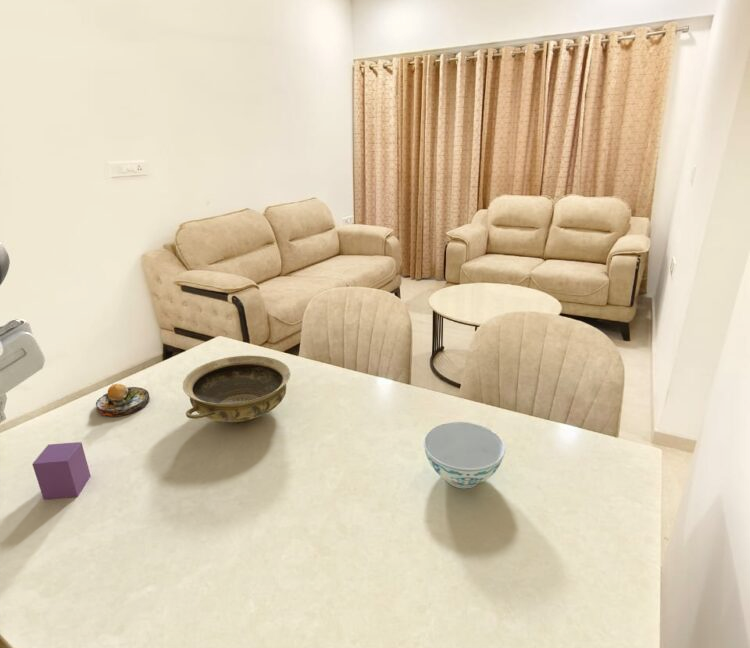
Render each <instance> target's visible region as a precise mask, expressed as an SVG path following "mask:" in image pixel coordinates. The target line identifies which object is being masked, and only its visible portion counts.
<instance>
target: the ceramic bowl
mask: <svg viewBox="0 0 750 648" xmlns="http://www.w3.org/2000/svg"><path fill="white" fill-rule="evenodd" d="M290 377H291V370H290V368H289V366H288V365H287V364H286V363H284V362H282V361H281V360H278V359H276V358H273V357H268V356H262V355H235V356H234V355H233V356H229V357H224V358H220V359H215V360H212V361H209V362H207V363H204V364H202V365H200V366H198V367H196V368H194V369H193V370H192V371H190V372H189V373H188V374H187V375H186V376H185V377H184V379H183V382H182V390H183V392H184V394H185V395H187V396H188V397H189V402H190V404H191V407H192V408H189V409H188V410H187V411H186V412H185V416H186V418H188V419H191V420H199V419H203V418H206V419H210V420H213V421H215V422H223V423H226V422H228V423H244V422H245V423H246V422H248V421H251V420H253V419H256V418H259V417H261V416H263V415H266V414H268V413H269V412H271V411H272V410H274V409H276V407H277V406H279V404H281V403H282V401H283V400H284V398H285V396H286V394H287V383H288V382H289V381H290ZM193 413H197V414H193Z"/></svg>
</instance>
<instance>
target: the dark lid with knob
mask: <svg viewBox="0 0 750 648" xmlns="http://www.w3.org/2000/svg"><path fill="white" fill-rule="evenodd" d="M149 402H150V393H149V391H148V390H147V389H146V388H143V387H138V386H130V387H129V386H128V387H127V385H126V384H123V383H114V384H113V383H111V386H110V387H108V389H107V392H106V393H104V394H103V395H102V396H101V397H99V398H98V399H97V400H96V401H95V409H96V412H97V413H99V414H100V415H101V416H104V417H106V416H107V417H120V416H124V415H125V416H126V415H129V414H131V413H134V412H135V413H136V412H137V411H139V410H141V409H144V407H145V406H146V405H148V404H149Z"/></svg>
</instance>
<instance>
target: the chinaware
mask: <svg viewBox="0 0 750 648" xmlns="http://www.w3.org/2000/svg"><path fill="white" fill-rule="evenodd" d="M423 447H424V453H425V454H426V455H425V456H426V458H427V460H428V463H429V464H430V466H431V468H432V469H433V471H434V472H435V473H436V474H437V475H438V476H439V477H440V478H442V479H444V481H446V482H447V484H449V485H450V486H452V487H455V488H458V489H471V488H475V486H477V485H478V484H481V483H483V482H485V481H487V480H488V479H490V478H491V477H492V476H493V475H494V473H496V472H497V470H498V469H499V467H500V466H501V464H502V462H503V460H504V457H505V453H506V446H505V443H504V441H503V439H502V438H501V437H500V435H499V434H497V433H496V432H495V431H494V430H492V429H490V428H488V427H486V426H483V425H482V424H477V423H473V422H466V421H450V422H444V423H441V424H438V425H436V426H434V427H432V428H430V429H429V431H428V432H427V433H426V434H425V436H424V438H423Z"/></svg>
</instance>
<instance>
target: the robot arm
mask: <svg viewBox="0 0 750 648" xmlns="http://www.w3.org/2000/svg"><path fill="white" fill-rule="evenodd" d="M10 264H11V262H10V256H9V253H8V251H7V249H6V247H5V246H4V245H3V243H2V242H1V241H0V286H1V285H2V284H3V282H4V280H5V279H6V277H7V276H8V275H7V274H8V272H9V268H10ZM45 363H46V358H45V354H44V353H43V351H42V349H41V346H40V345H39V343H38V341H37V339H36V338H35V337H34V335H33V331H32V327H31V325H30V322H28V321H26V320H24V319H18V318H14V319H12V320H10V321H8V322H7V323H5V324H4V325H1V326H0V424H2V423H3V422H4V421H5V420H7V416H6V414H5V412H4V411H5V408H6V404H7V399H8V397H7V395H6V394H7V393H9V392H10V391H11V390H13V389H15V388H16V387H17V386H19V385H20V384H22V383H23V382H25V381H26V380H28V379H29V378H31V377H32V376H33V375H35V374H37V373H38V372H39V371H41V370H42V369H44V368H45V367H44V366H45Z"/></svg>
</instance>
